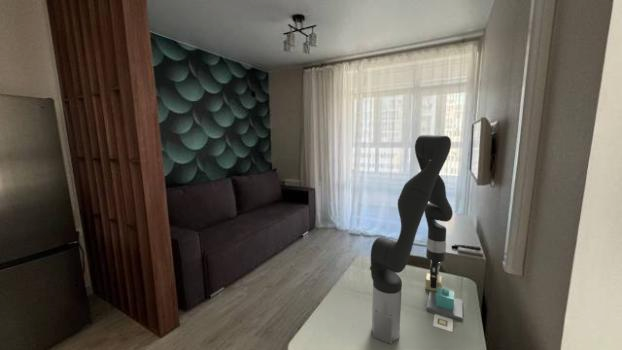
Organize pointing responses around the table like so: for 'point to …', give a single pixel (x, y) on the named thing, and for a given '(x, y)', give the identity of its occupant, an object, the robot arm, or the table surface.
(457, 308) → the plate
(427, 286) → the yellow knobbed block
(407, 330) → the table surface
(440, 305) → the teal brick
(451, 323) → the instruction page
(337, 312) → the table surface
